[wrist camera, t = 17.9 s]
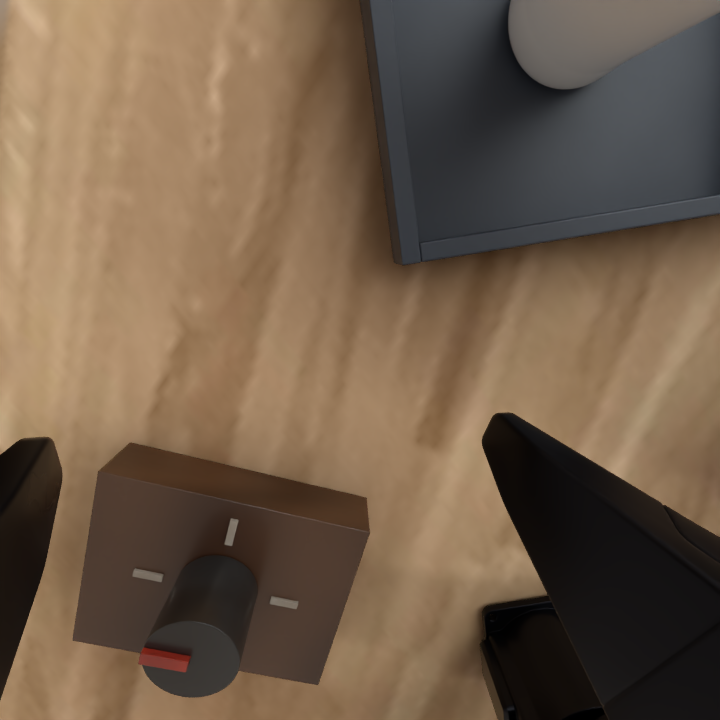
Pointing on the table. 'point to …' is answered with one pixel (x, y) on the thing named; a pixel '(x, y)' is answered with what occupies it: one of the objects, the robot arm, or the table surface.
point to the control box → (225, 538)
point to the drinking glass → (594, 34)
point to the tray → (532, 134)
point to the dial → (201, 628)
